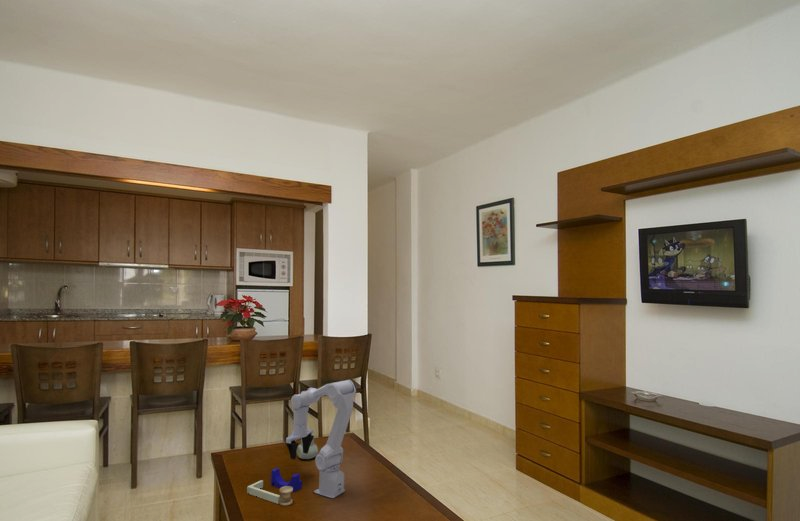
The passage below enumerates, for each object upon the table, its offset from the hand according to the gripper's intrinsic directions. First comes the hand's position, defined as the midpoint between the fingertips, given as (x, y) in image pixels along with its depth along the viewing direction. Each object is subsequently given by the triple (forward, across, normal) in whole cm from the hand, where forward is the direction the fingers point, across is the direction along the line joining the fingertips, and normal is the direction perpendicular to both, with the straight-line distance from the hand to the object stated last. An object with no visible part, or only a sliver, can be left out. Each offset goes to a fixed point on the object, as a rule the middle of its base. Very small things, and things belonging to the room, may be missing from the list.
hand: (299, 456), depth 192 cm
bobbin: (+9, +18, +10) cm, 23 cm away
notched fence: (+9, +17, 0) cm, 19 cm away
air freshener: (+10, -20, -13) cm, 26 cm away
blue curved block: (+10, +8, +1) cm, 13 cm away
